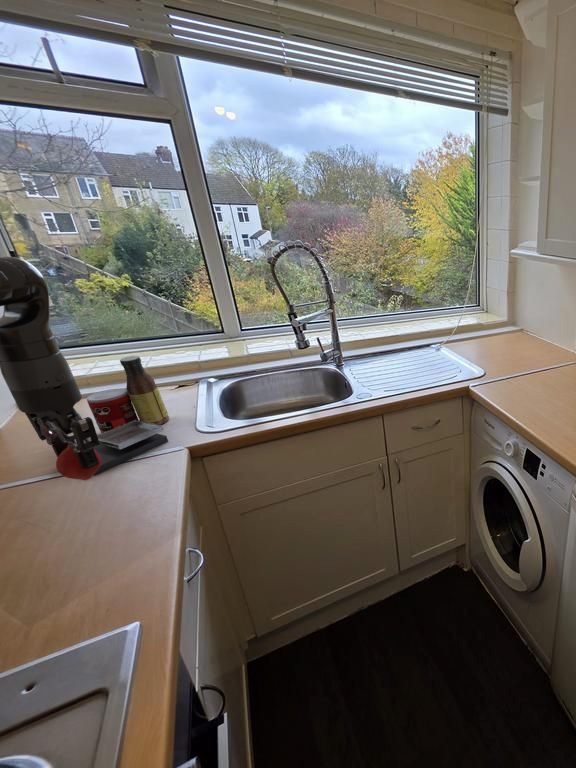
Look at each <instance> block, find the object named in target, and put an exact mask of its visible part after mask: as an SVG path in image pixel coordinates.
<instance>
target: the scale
mask: <svg viewBox="0 0 576 768" xmlns="http://www.w3.org/2000/svg"><path fill="white" fill-rule="evenodd" d="M166 443H169V439H168V437H167V435H165V434H160V433H157V434H155V435H152V436H150V437H148V438H145V439H143V440H141V441H139V442H136V443H134V444H132V445H130V446H127V447H125V448H123V449H120V450H119V449H115V448H111V447H108V446H104V445H99V446H96V447H93V449H94V450H96V451H97V452H98V453H99V454H100V456H101V460H102V464H101V466H100V468H99V469H98V470H97V471H96V472H95V473H94V475H93V476H94V477H96V476H98V475H101V474H102V473H104V472H106V471H109V470H111V469H113V468H115V467H118V466H119V465H122V464H123V463H126V462H129V461H130V460H133V459H134V458H137V457H139V456H141V455H144V454H145V453H147V452H149V451H151V450H153V449H156V448H159V447H160V446H162V445H164V444H166ZM93 476H92V477H93Z"/></svg>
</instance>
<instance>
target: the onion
mask: <svg viewBox="0 0 576 768" xmlns="http://www.w3.org/2000/svg"><path fill="white" fill-rule="evenodd" d="M93 450H94V449H93ZM94 452H95V454H96V457H97V459H98V461H99V464H98V465H96V466H94V467H92V468H90V469H83V468H82V467H81V465H80V463H79V460H78V458H77V456H76V454H75V451H74V450H73V449H72V447H71V446H70V445H68V447H67V448H66V449H65V450H63V451H62V452H61V454H60V455H59V456H58V458H57V457H56V461H55V468H56V470H57V472H58V473H59V475H61V476H63V477H65V478H67V479H72V480H81V481H87V480H90V479H91V478H92V477H93V475H94V473H95V472H96V471H97V470H98V469H99V468H100V466H101V464H102V460H101V456H100V454H99V453H98V452H97V451H96V450H94Z"/></svg>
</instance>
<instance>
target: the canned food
mask: <svg viewBox="0 0 576 768" xmlns="http://www.w3.org/2000/svg"><path fill="white" fill-rule="evenodd" d="M86 402H87V404H88V407H89V409H90V411H91V413H92V416H93V419H94V421H95V422H96V425H97V427H98V430H99V431H100V434H101V433H103V432H106V431H108V430H111V429H113V428H116V427H118V426H121V425H123V424H126V423H128V422H131V421H133V420H139V417H138V415H137V413H136V410H135V408H134V406H133V404H132V401H131V399H130V397H129V395H128V392H127V390H126V388H111V389H105V390H101V391H98V392H95V393H93V394H92V393H91V394H90V395H89V396H87V397H86Z"/></svg>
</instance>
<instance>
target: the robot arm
mask: <svg viewBox="0 0 576 768" xmlns="http://www.w3.org/2000/svg"><path fill="white" fill-rule="evenodd" d="M50 306H51V305H50V293H49V286H48V282H47V281H46V279H45V277H44V276H43V274H42V272H41V271H39V269H38V268H37V267H36V266H35V265H33V264H32V263H30V262H29V261H27V260H25V259H23V258H20V257H15V256H0V307H3V313H2V316H1V317H0V374H1V376H2V378H3V380H4V382H5V384H6V386H7V388H8V390H9V391H10V394H11V396H12V398H13V400H14V402H15V404H16V405H17V409H18V410H19V411H20V412H21V413H23V414H25V416H26V418H27V419H28V420H29V422H30V424H31V426H32V427H33V430H34V431H35V433H36V434H37V436H38V438H39V440H41V441H45V440H46V443H47V445H48V446H51V448H52V450H53V452H54V454H55V456H56V459H57V458H58V456H59V455H60V454H61V452H62V451H63V450H65V449H66V448H67V447H68V445H70V446H71V447H72V449H73V450H74V451H75V454H76V456H77V458H78V460H79V463H80V465H81V467H82V468H83V469H90V468H92V467H94V466H96V465H98V464H99V461H98V459H97V457H96V454H95V452H94V450H93V447H96V446H99V445H100V443H99V440H98V437H97V435H98V434H97V431H96V428H95V425H94V421H93V419H92V418H91V417H90V416H87V417H84V418H82V416H81V414H80V413H79V412H78V411H76V409H75V408H74V407H75V406H76V404H78V403H80V402H81V401H82V399H83V396H82V393H81V391H80V388H79V386H78V384H77V381H76V379H75V376H74V374H73V372H72V370H71V367H70V365H69V363H68V361H67V359H66V358H65V357H64V355H63V353H62V351H61V349H60V347H59V345H58V342H57V340H56V338H55V335H54V332H53V331H52V328H51V307H50ZM71 434H72V435H71ZM90 438H91V439H90Z"/></svg>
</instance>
